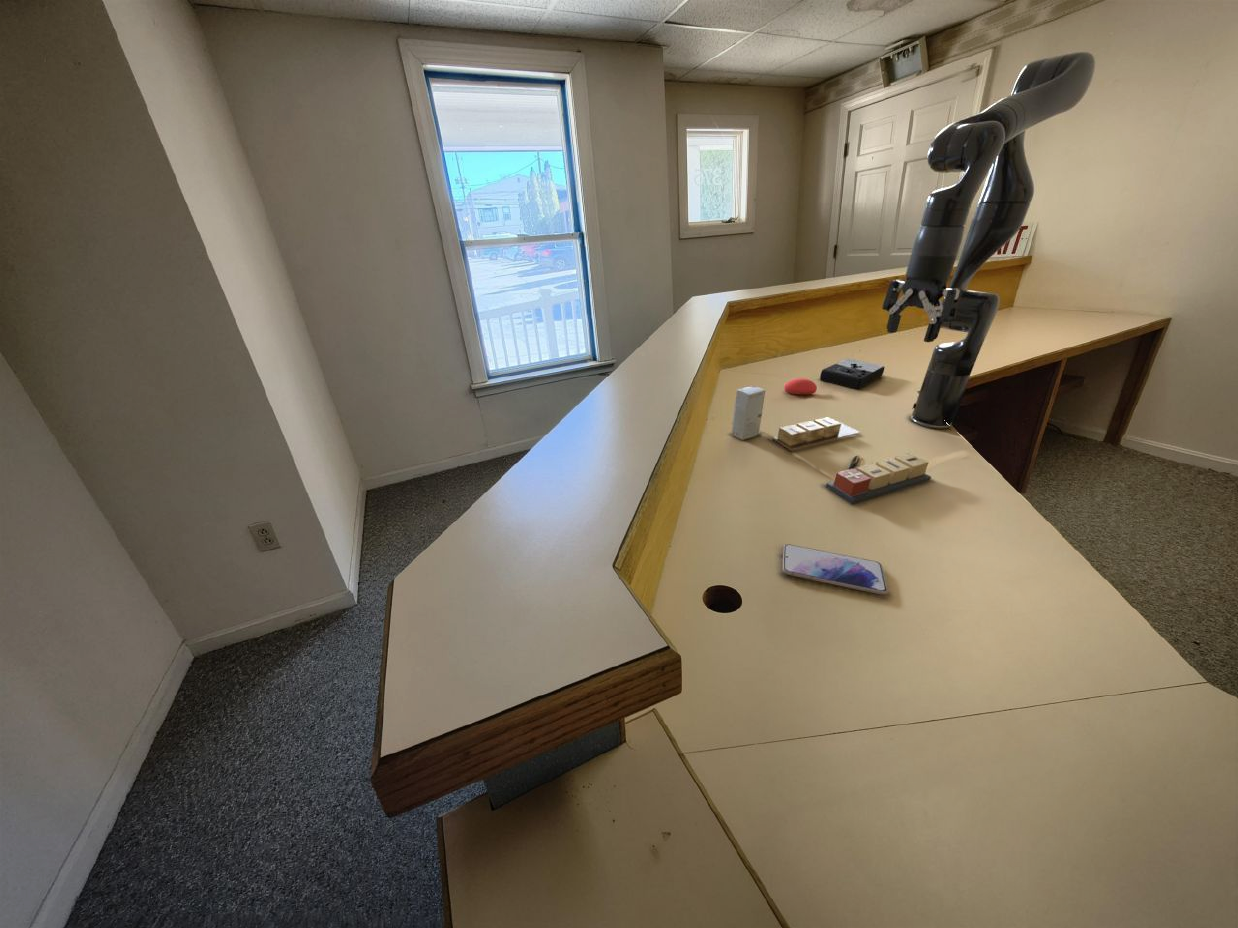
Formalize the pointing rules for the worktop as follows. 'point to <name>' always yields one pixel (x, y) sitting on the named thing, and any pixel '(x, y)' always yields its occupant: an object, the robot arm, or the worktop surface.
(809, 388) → the stress ball
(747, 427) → the cosmetic box
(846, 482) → the red plus-sign block
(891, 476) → the wooden block rack
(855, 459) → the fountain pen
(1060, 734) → the worktop surface
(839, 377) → the multimeter
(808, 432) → the letter tile tray
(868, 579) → the smartphone
